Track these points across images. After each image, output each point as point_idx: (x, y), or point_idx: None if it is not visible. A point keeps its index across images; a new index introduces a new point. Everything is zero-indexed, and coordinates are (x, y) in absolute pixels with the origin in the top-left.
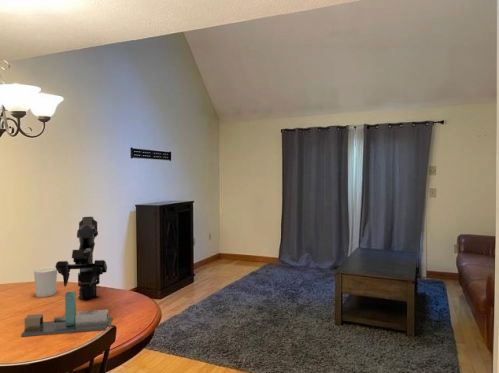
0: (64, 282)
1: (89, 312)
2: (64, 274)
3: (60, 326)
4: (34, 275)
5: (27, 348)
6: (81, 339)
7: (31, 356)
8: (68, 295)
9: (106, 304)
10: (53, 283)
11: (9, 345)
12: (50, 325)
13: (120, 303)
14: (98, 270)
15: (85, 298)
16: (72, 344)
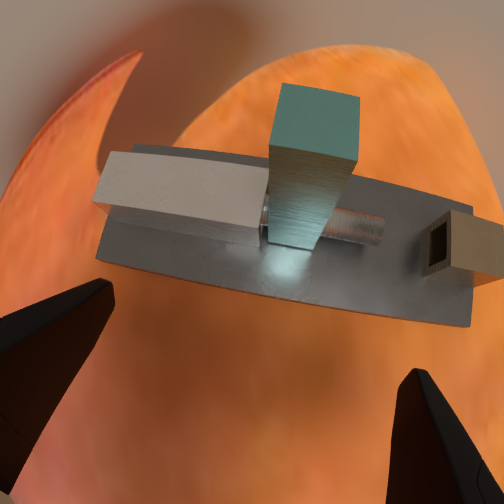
0: (438, 396)
1: (189, 185)
2: (485, 500)
3: None
4: None
5: (411, 106)
6: (243, 99)
7: (378, 59)
8: (328, 97)
9: (121, 486)
10: None
11: (471, 154)
12: (390, 255)
13: (63, 459)
14: None
15: None
16: (272, 76)
